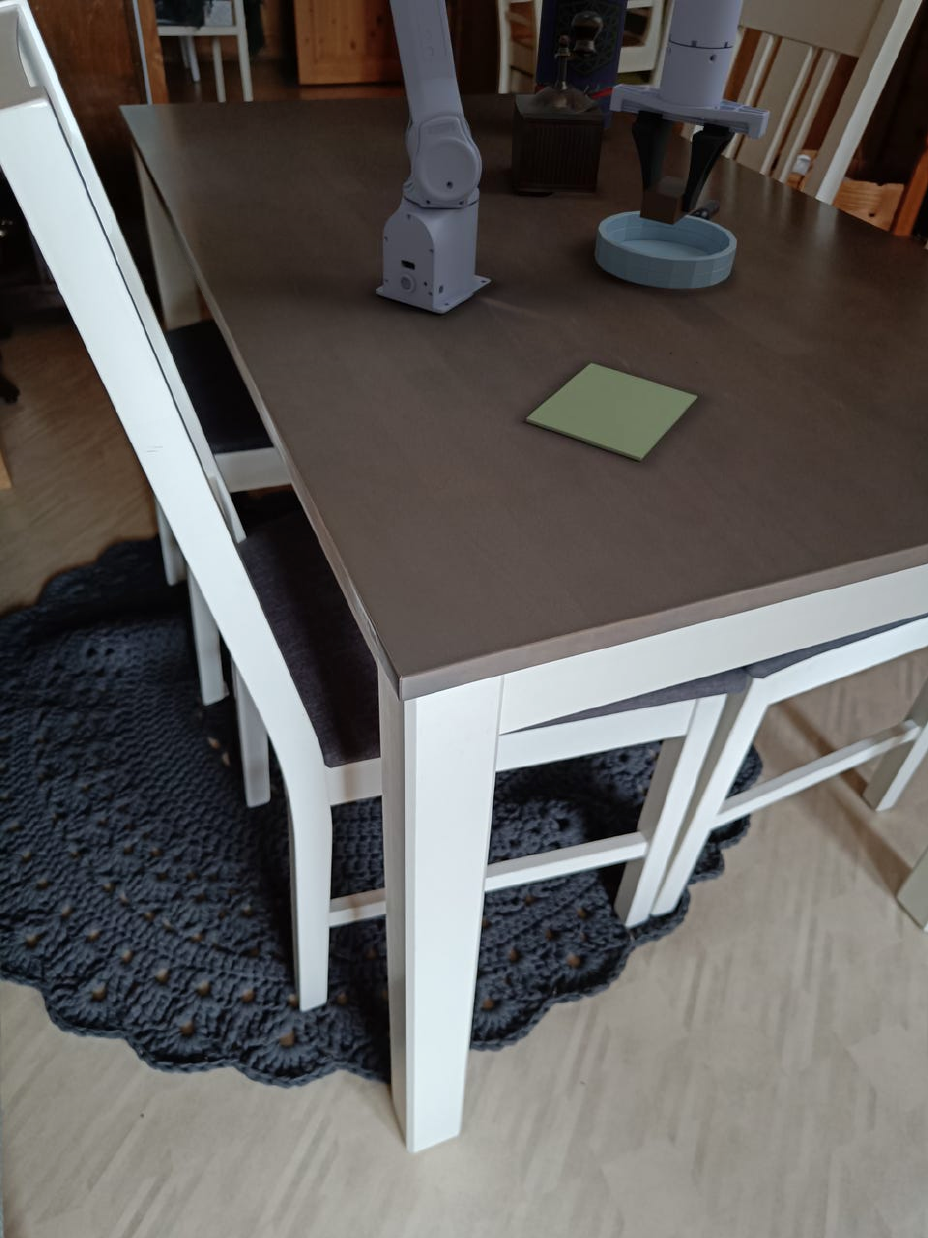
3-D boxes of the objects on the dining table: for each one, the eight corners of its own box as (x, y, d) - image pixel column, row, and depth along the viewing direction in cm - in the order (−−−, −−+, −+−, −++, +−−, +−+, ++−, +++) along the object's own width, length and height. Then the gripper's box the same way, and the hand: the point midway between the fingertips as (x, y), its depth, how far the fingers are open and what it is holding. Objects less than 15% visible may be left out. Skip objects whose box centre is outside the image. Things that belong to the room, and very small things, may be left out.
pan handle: (694, 235, 102) (698, 218, 100) (680, 231, 102) (683, 214, 101) (719, 215, 107) (723, 199, 106) (705, 212, 107) (708, 196, 106)
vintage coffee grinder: (601, 198, 115) (625, 31, 103) (515, 195, 114) (529, 27, 102) (583, 161, 126) (602, 8, 114) (504, 158, 125) (516, 3, 113)
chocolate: (672, 225, 86) (678, 197, 85) (638, 217, 87) (643, 189, 86) (694, 209, 90) (700, 182, 88) (662, 201, 91) (667, 175, 90)
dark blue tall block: (615, 143, 134) (654, -117, 114) (535, 141, 133) (560, -123, 113) (598, 119, 144) (631, -125, 124) (524, 116, 143) (545, -130, 123)
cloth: (640, 461, 69) (640, 457, 69) (525, 421, 73) (525, 418, 72) (696, 398, 77) (697, 395, 76) (590, 365, 80) (591, 362, 80)
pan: (700, 305, 91) (708, 271, 89) (571, 270, 96) (575, 237, 94) (746, 262, 101) (755, 230, 98) (627, 232, 106) (632, 201, 104)
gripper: (794, 48, 79) (753, 210, 88) (641, 24, 84) (618, 179, 93) (770, 60, 75) (730, 230, 84) (610, 34, 80) (588, 196, 89)
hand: (669, 204), depth 88 cm, fingers closed on chocolate, 3 cm apart
